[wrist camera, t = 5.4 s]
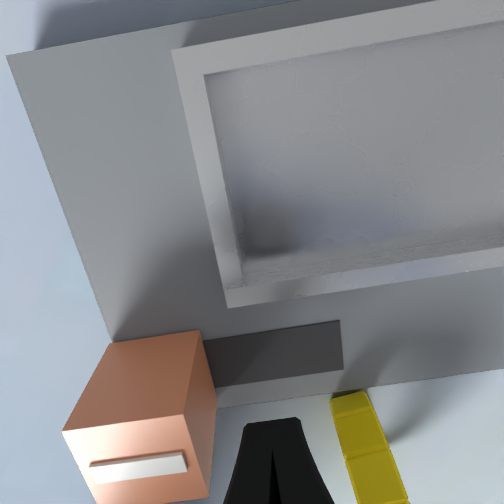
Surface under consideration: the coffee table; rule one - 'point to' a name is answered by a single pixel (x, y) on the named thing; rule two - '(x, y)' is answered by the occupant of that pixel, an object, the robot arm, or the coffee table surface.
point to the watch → (366, 451)
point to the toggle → (147, 422)
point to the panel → (199, 234)
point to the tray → (351, 149)
